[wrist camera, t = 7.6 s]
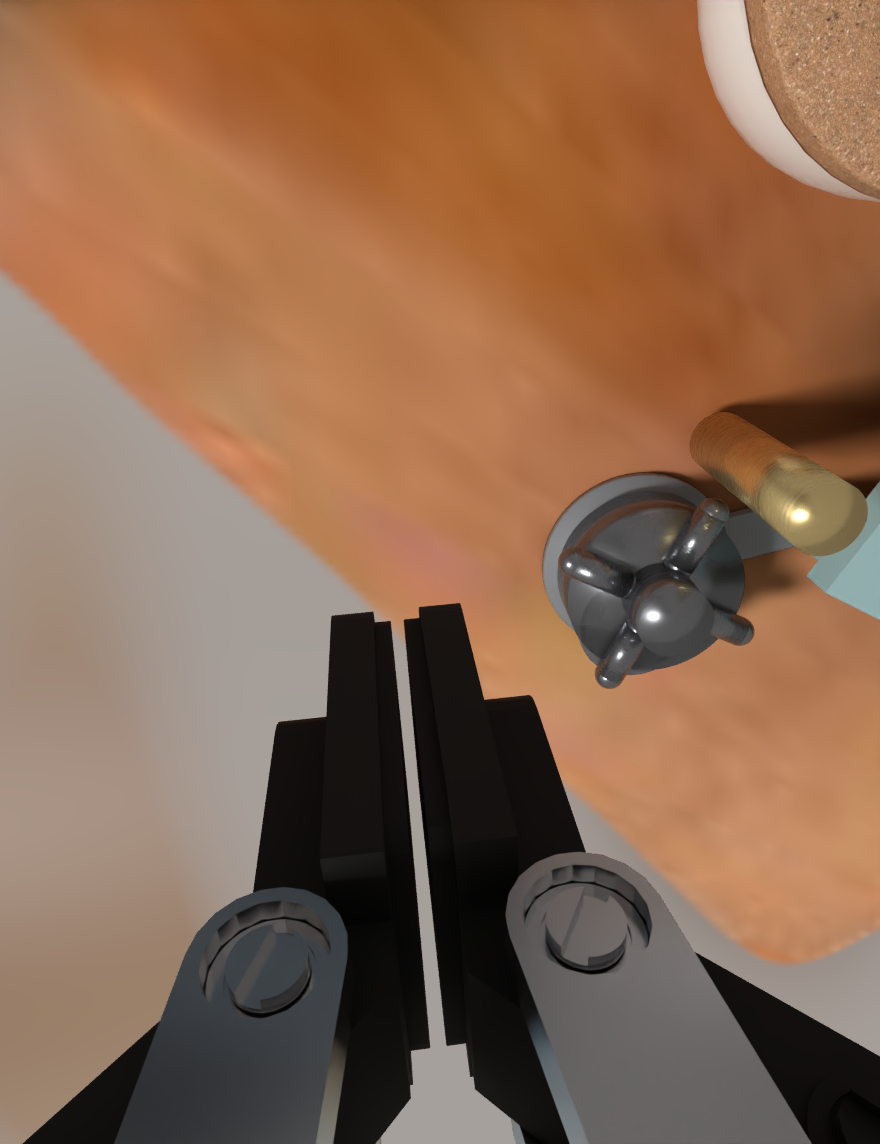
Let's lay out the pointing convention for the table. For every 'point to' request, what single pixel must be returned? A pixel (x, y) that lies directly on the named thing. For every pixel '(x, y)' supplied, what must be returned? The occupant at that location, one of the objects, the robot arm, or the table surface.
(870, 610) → the spoked knob panel
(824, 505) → the cross handle valve
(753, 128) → the lidded jar
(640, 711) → the table surface
